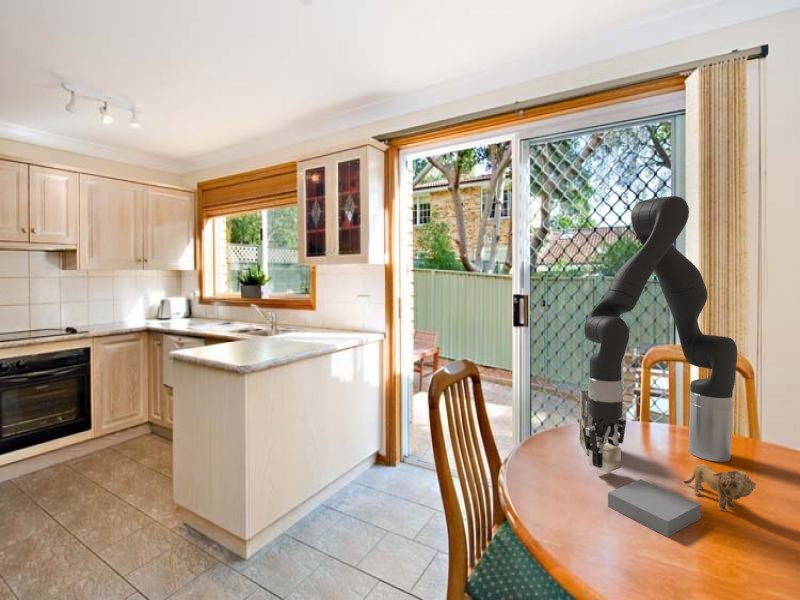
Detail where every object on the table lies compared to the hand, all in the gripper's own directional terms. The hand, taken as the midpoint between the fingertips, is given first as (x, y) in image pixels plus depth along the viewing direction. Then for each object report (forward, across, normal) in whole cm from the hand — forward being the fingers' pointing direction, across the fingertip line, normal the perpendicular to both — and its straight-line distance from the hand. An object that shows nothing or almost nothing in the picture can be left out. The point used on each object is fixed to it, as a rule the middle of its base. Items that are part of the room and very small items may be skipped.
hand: (604, 463), depth 100 cm
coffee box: (+3, -12, -11) cm, 16 cm away
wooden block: (+1, 0, 0) cm, 1 cm away
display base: (+3, +6, +15) cm, 17 cm away
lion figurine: (+3, -10, +20) cm, 22 cm away
